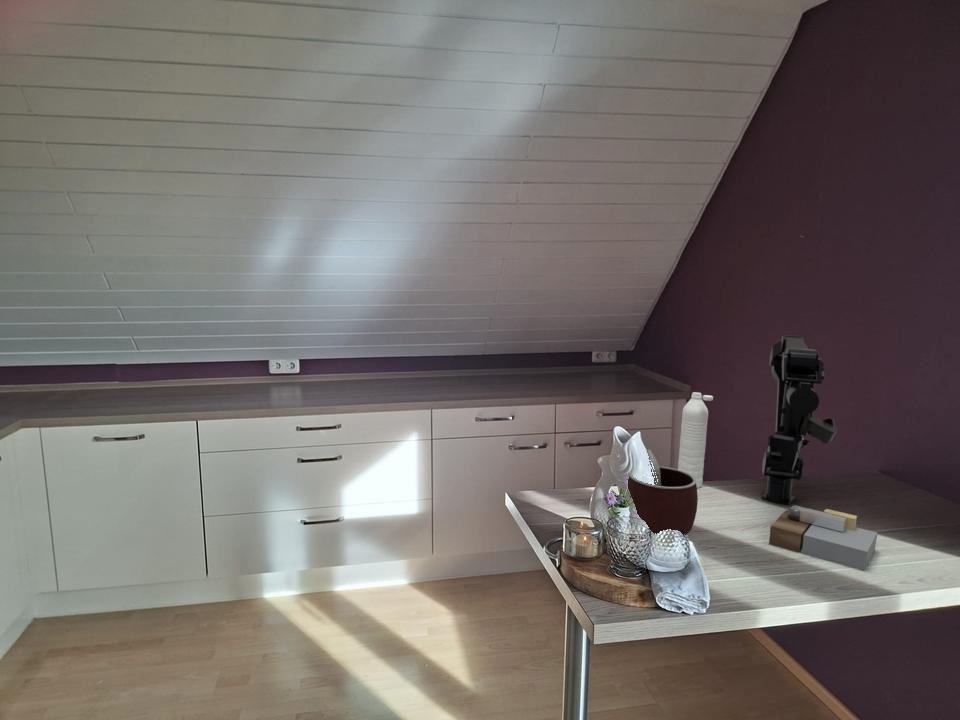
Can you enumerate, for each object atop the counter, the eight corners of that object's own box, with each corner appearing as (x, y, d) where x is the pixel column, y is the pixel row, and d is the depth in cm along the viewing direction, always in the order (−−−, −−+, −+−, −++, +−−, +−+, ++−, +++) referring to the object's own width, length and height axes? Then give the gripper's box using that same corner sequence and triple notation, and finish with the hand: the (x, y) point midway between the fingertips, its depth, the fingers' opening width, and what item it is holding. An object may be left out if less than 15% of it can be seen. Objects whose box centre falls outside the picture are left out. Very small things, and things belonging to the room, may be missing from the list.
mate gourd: (703, 574, 127) (712, 474, 124) (633, 575, 126) (640, 474, 122) (673, 539, 142) (680, 449, 139) (610, 540, 141) (616, 449, 138)
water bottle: (671, 481, 178) (678, 390, 174) (691, 479, 181) (698, 389, 177) (692, 492, 170) (700, 397, 166) (713, 490, 173) (721, 396, 169)
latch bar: (785, 518, 144) (787, 507, 144) (789, 514, 147) (790, 503, 147) (842, 532, 138) (844, 521, 137) (845, 528, 140) (847, 517, 140)
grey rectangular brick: (815, 535, 146) (818, 506, 145) (874, 550, 139) (878, 520, 138) (801, 553, 137) (805, 523, 136) (864, 570, 130) (869, 539, 129)
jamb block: (784, 526, 150) (785, 510, 150) (812, 534, 147) (814, 517, 146) (768, 544, 141) (770, 526, 140) (799, 552, 137) (801, 534, 137)
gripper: (827, 418, 137) (818, 490, 140) (844, 403, 152) (837, 469, 154) (770, 409, 144) (763, 477, 147) (792, 396, 159) (786, 458, 161)
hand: (789, 470), depth 152 cm, fingers closed
